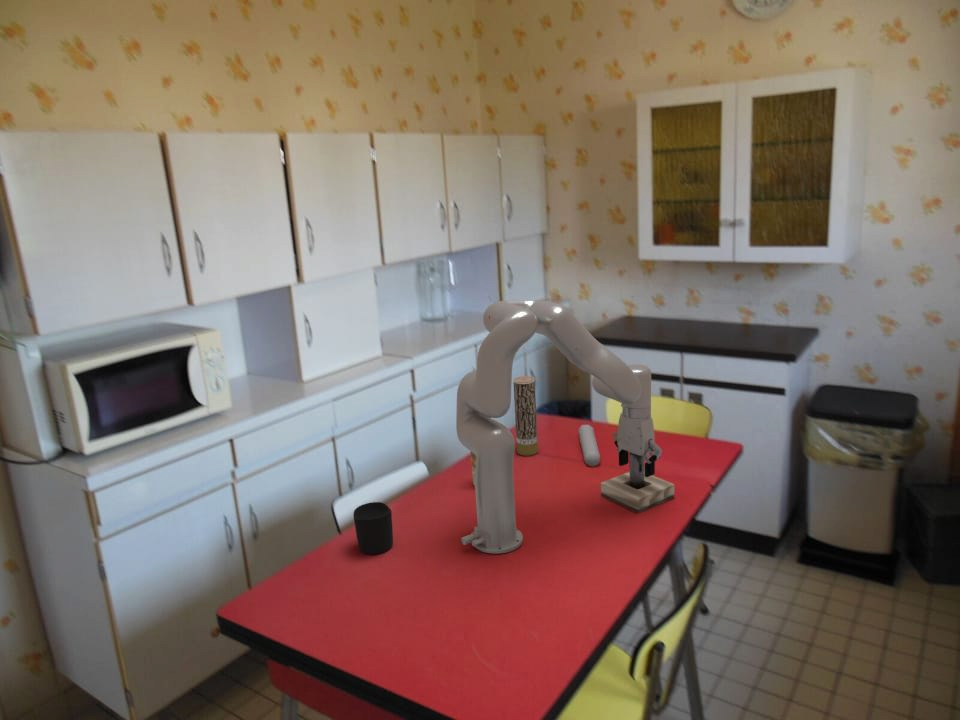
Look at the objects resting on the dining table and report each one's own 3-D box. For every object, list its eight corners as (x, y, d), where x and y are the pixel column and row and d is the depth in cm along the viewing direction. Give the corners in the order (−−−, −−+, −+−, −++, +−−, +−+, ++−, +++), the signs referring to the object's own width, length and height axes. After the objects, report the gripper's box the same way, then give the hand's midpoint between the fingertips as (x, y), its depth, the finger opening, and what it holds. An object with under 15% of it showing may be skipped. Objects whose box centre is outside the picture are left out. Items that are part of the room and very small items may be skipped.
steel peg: (637, 498, 197) (637, 457, 194) (626, 493, 200) (626, 453, 197) (647, 493, 199) (647, 453, 196) (636, 489, 202) (636, 449, 199)
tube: (604, 456, 219) (595, 426, 243) (587, 451, 219) (580, 422, 243) (598, 471, 221) (591, 440, 245) (581, 467, 221) (576, 436, 245)
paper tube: (514, 450, 237) (510, 378, 231) (533, 447, 239) (530, 375, 233) (521, 458, 231) (517, 383, 225) (541, 454, 233) (537, 380, 227)
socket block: (638, 513, 190) (637, 499, 189) (601, 495, 202) (600, 482, 200) (674, 497, 198) (674, 484, 197) (636, 481, 209) (636, 469, 208)
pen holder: (400, 538, 185) (396, 503, 182) (386, 557, 176) (382, 520, 174) (366, 536, 187) (362, 501, 185) (351, 554, 179) (346, 518, 176)
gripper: (603, 406, 198) (604, 464, 202) (650, 422, 184) (650, 483, 188) (623, 400, 202) (623, 457, 206) (671, 415, 188) (670, 476, 192)
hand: (636, 470), depth 197 cm, fingers open, 9 cm apart
